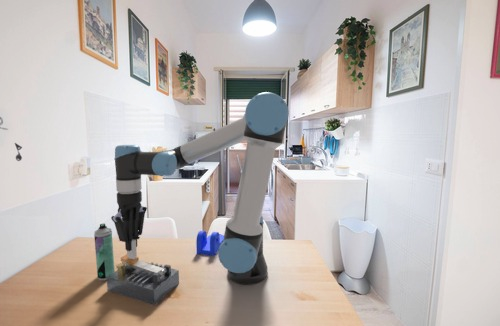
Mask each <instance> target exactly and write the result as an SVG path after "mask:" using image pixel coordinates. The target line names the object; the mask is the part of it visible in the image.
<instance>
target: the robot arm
mask: <svg viewBox="0 0 500 326" xmlns="http://www.w3.org/2000/svg"><path fill="white" fill-rule="evenodd" d="M244 112H245V113H244V114H243V117H242V118H240V119H237V120H235V121H232V122H230V123H229V124H226V125H224V126H222V127H219V128H217V129H214V130H213V131H210V132H208V133H205V134H204V135H201V136H199V137H198V138H195V139H191V140H190V141H188V142H185V143H184V144H181V145H179V146H176V147H174V148H173V149H168V150H161V151H142V150H141V147H140V145H139V144H120V145H117V146H115V147H114V164H115V165H114V167H115V175H116V176H115V186H116V188H115V190H116V192H117V193H116V204H117V205H118V209H117V212H116V214H115V215H112V216H111V220H112V222H113V223H114V225H115V230H116V233H117V237H118V239H119V240H118V241H119V242H122V243H125V244H124V245H125V251H126V254H127V258H129V259H135V258H137V257H138V256H137V248H138V240H140V238H141V237H140V236H142V234H143V228H144V223H145V222H144V221H145V214H146V213H147V209H148V207H146V206H143V205H142V201H143V197H142V196H143V194H142V191H141V190H142V175H144V176H157V177H158V176H159V177H164V176H165V177H166V176H168V177H169V176H172V175H174V173H175V172H176V170H180V169H183V168H185V167H186V166H188V165H190V164H193V163H195V162H197V161H199V160H200V161H201V160H202V159H204V158H207V157H209V156H211V155H214V154H217V153H218V152H222V151H223V150H226V149H228V148H230V147H233V146H235V145H238V144H240V143H242V142H244V141H245V142H246V143H247V144H246V148H245V152H244V159H243V163H242V168H241V174H240V179H239V185H238V189H237V193H236V199H235V204H234V208H233V214H232V216H231V218H229V219H227V221H226V224H225V229H224V233H223V235H224V238H223V242H222V243H221V244H220V246H219V250H218V251H217V257H218V260H219V263H221V265H222V266H223V268H224V269H226V271H227V277H228V278H229V279H230V280H231V281H233V282H235V283H237V284H240V285H241V284H242V285H254V284H258V283H261V282H263V281H264V280H266V278H267V276H268V265H267V261H266V259H265V256H264V218H263V217H264V216H263V215H262V214H263V213H262V212H263V209H264V205H265V204H264V203H265V200H266V195H267V190H268V185H269V181H270V180H269V179H270V176H271V171H272V167H273V162H274V158H275V154H276V149H277V148H279V147H280V146H282V144H283V142H284V136H285V132H286V128H287V124H288V121H289V114H290V111H289V107H288V104H287V102H286V100H285V99H283V98H282V97H281V96H280V95H278V94H277V93H273V92H269V91H268V92H267V91H265V92H261V93H257V94H256V95H254V96H253V97H252V98H251V99H250V100H249V101H248V103H247V105H246V107H245V111H244Z"/></svg>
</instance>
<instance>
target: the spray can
mask: <svg viewBox="0 0 500 326" xmlns="http://www.w3.org/2000/svg"><path fill="white" fill-rule="evenodd" d="M93 235H94V248H95V260H96V261H95V262H96V274H97V280H98V279H99V280H98V281H107V276H109V275H110V274H112V273H114V272H115V271H116V270H115V261H114V259H115V258H114V256H115V255H114V245H113V243H114V242H113V231H112V228H110V227H108V226H106V223H100V224H99V227H98V228H97V229H96V230H95V231H94V234H93Z"/></svg>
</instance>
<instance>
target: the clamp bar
mask: <svg viewBox="0 0 500 326" xmlns="http://www.w3.org/2000/svg"><path fill="white" fill-rule="evenodd" d="M120 262H121V263H122V264H125V265H127V266H130V267H132V268H135V269H138V270H141V271H144V272H147V273H150V274H153V273H158V274H160V277H161V276H163V275H164V274H165V273H167V269H166V268H161V267H158V266H155V265H151V264H148V263H149V262H147V263H145V261H142V260H140V258H139V256H137V258H135V259H129V258H127V253H126V254H125V255H123V256H122V257H120Z"/></svg>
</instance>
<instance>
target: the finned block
mask: <svg viewBox="0 0 500 326" xmlns="http://www.w3.org/2000/svg"><path fill="white" fill-rule="evenodd" d="M144 262H145V261H144ZM145 263H148V264H151V265H155V266H158V267H161V268H166V269H167V273H165V274H164V275H163V276H161V277H160V274H158V273H153V274H150V273H147V272H144V271H141V270H138V269H135V268H132V267H130V266H127V265H125V264H122V262H120V263H118V264H116V265H115V267H116V269H117V270H115V272H114V273H112V274H110V275H109V276H107V280H106V287H107V292H111V293H114V294H117V295H120V296H124V297H126V298H130V299H134V300H136V301H139V302H142V303H145V304H149V305H152V306H156V305H157V304H158V303H159V302H160V301H161V300H163V299H164V298H165V297H166V296H167V295H168V294H169V293H170V292H171V291H173V290H174V289H175V288H176V287H177V286H179V284H180V275H179V274H180V272H179V269H175V268H172V265H170V264H164V265H163V264H158V262H156V263H154V261H153V262H152V261H151V262H148V261H147V262H145Z"/></svg>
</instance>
